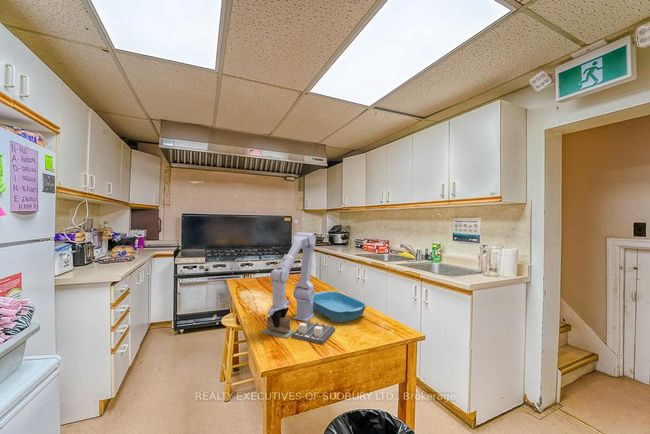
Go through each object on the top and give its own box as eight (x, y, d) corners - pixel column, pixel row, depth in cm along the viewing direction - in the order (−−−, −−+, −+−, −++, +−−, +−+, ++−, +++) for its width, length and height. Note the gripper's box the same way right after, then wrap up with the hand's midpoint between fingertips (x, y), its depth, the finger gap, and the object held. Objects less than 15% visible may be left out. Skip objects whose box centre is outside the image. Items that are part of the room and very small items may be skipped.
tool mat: (270, 327, 125) (270, 325, 125) (294, 332, 120) (294, 331, 120) (262, 332, 119) (262, 331, 119) (287, 338, 114) (287, 337, 114)
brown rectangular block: (271, 325, 123) (271, 314, 123) (290, 329, 119) (290, 318, 119) (267, 328, 120) (267, 317, 120) (286, 332, 116) (286, 321, 116)
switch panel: (306, 325, 128) (306, 319, 128) (335, 330, 122) (335, 325, 122) (291, 337, 115) (291, 331, 115) (322, 344, 109) (322, 338, 109)
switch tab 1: (301, 330, 119) (301, 322, 119) (307, 331, 117) (307, 323, 117) (298, 332, 116) (298, 324, 116) (304, 333, 115) (304, 326, 115)
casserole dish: (301, 306, 155) (301, 293, 155) (332, 299, 167) (333, 288, 167) (339, 329, 124) (339, 314, 124) (373, 319, 136) (374, 305, 136)
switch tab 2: (316, 333, 115) (316, 325, 115) (322, 334, 114) (322, 327, 114) (313, 336, 113) (313, 328, 113) (320, 337, 112) (320, 329, 112)
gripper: (277, 301, 111) (277, 333, 111) (294, 292, 124) (294, 321, 124) (263, 299, 114) (263, 330, 114) (282, 290, 127) (281, 318, 127)
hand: (278, 325), depth 119 cm, fingers closed on brown rectangular block, 3 cm apart
